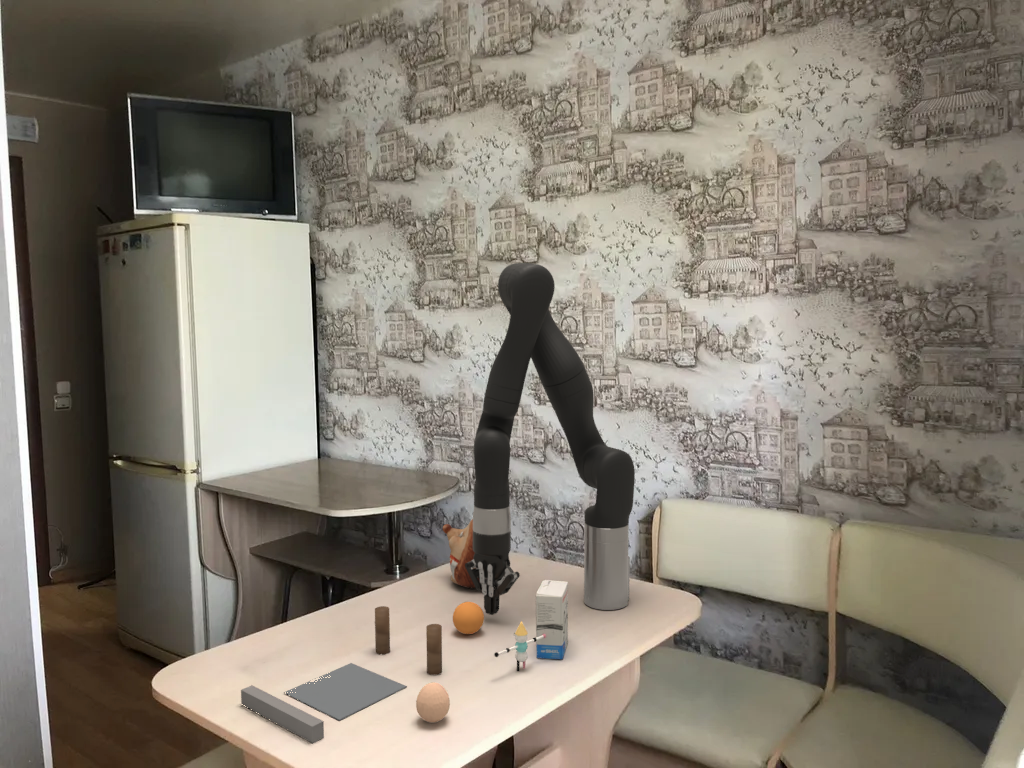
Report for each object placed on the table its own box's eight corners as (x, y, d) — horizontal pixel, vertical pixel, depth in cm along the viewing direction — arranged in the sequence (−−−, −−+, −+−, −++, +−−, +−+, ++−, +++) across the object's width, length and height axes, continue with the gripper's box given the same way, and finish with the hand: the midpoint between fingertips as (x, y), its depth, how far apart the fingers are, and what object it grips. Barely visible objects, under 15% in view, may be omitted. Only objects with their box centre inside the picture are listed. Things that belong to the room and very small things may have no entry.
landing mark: (351, 663, 143) (351, 662, 143) (406, 687, 135) (406, 686, 135) (283, 693, 133) (283, 692, 133) (339, 720, 124) (339, 719, 124)
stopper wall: (252, 700, 130) (252, 685, 130) (323, 737, 119) (323, 721, 119) (241, 704, 129) (240, 689, 129) (312, 743, 118) (312, 726, 117)
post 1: (383, 647, 150) (382, 605, 150) (393, 651, 149) (392, 608, 148) (372, 651, 148) (371, 609, 148) (382, 655, 147) (381, 612, 146)
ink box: (562, 660, 145) (562, 596, 144) (534, 658, 146) (535, 594, 145) (568, 641, 153) (569, 580, 152) (542, 639, 154) (542, 578, 153)
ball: (467, 624, 161) (467, 594, 161) (490, 632, 157) (490, 601, 157) (446, 633, 156) (446, 603, 156) (469, 642, 153) (469, 611, 152)
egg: (441, 709, 127) (441, 673, 127) (455, 724, 123) (455, 686, 122) (411, 717, 125) (410, 680, 124) (424, 732, 121) (423, 694, 120)
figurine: (459, 568, 195) (459, 507, 194) (519, 578, 188) (519, 514, 187) (427, 587, 182) (427, 521, 181) (490, 598, 175) (490, 530, 174)
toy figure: (540, 656, 146) (540, 610, 145) (549, 661, 144) (550, 613, 144) (489, 677, 138) (489, 628, 137) (499, 682, 136) (499, 632, 135)
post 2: (434, 666, 142) (433, 622, 141) (445, 671, 141) (444, 626, 140) (423, 672, 140) (423, 627, 139) (434, 676, 139) (434, 631, 138)
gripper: (529, 530, 160) (529, 615, 161) (479, 518, 168) (479, 600, 170) (505, 538, 154) (504, 627, 156) (454, 525, 162) (454, 610, 164)
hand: (491, 612), depth 163 cm, fingers closed
